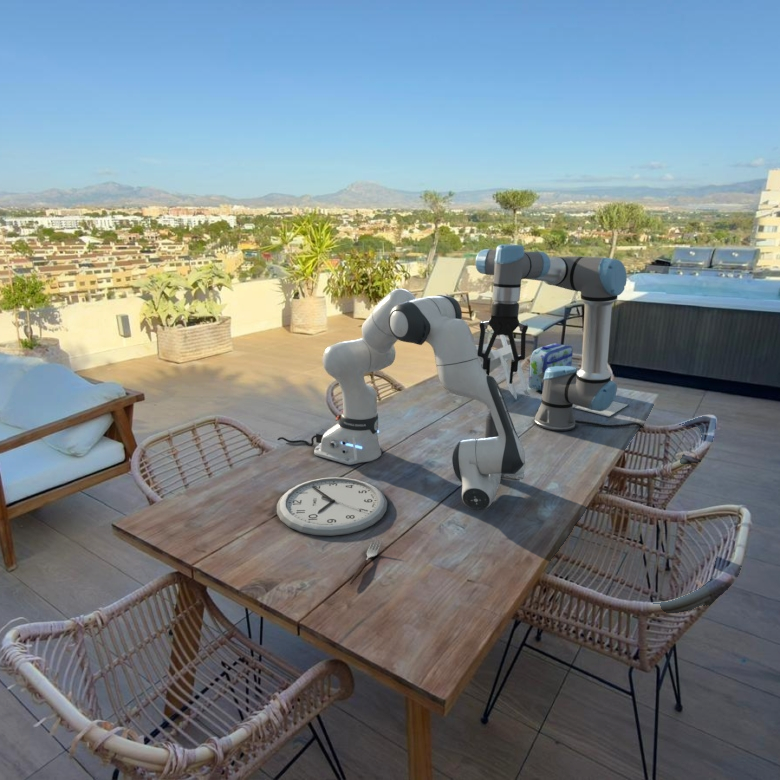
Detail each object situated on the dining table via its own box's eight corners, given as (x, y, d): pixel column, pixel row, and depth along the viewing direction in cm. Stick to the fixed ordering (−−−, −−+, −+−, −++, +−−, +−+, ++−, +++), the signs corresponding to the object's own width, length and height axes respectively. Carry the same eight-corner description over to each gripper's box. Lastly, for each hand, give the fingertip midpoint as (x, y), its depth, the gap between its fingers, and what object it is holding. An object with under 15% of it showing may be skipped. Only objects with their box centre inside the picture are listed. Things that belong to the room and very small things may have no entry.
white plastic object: (461, 429, 252) (437, 405, 227) (444, 352, 274) (420, 323, 250) (535, 404, 240) (518, 377, 215) (510, 326, 262) (492, 293, 237)
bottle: (479, 471, 164) (485, 396, 157) (497, 470, 165) (503, 395, 157) (485, 479, 159) (491, 402, 151) (503, 478, 160) (509, 401, 152)
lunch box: (544, 395, 239) (549, 351, 233) (524, 390, 247) (528, 347, 240) (571, 384, 257) (577, 343, 251) (552, 380, 264) (556, 339, 258)
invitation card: (608, 416, 214) (573, 407, 224) (608, 416, 214) (573, 408, 224) (628, 404, 229) (594, 396, 238) (628, 405, 229) (594, 397, 238)
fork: (344, 585, 111) (344, 577, 110) (372, 544, 125) (372, 537, 125) (355, 588, 110) (355, 580, 109) (382, 546, 124) (382, 539, 124)
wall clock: (392, 527, 129) (268, 531, 127) (391, 533, 130) (269, 537, 127) (383, 473, 158) (282, 475, 155) (383, 478, 158) (282, 480, 156)
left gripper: (524, 469, 144) (528, 450, 157) (451, 458, 150) (461, 440, 163) (522, 490, 146) (526, 469, 159) (450, 478, 152) (460, 459, 165)
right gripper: (540, 301, 147) (532, 380, 154) (472, 298, 152) (467, 375, 159) (541, 305, 140) (532, 387, 147) (469, 301, 145) (464, 381, 152)
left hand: (493, 455), depth 161 cm, fingers closed on bottle, 5 cm apart
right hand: (499, 381), depth 153 cm, fingers open, 6 cm apart
